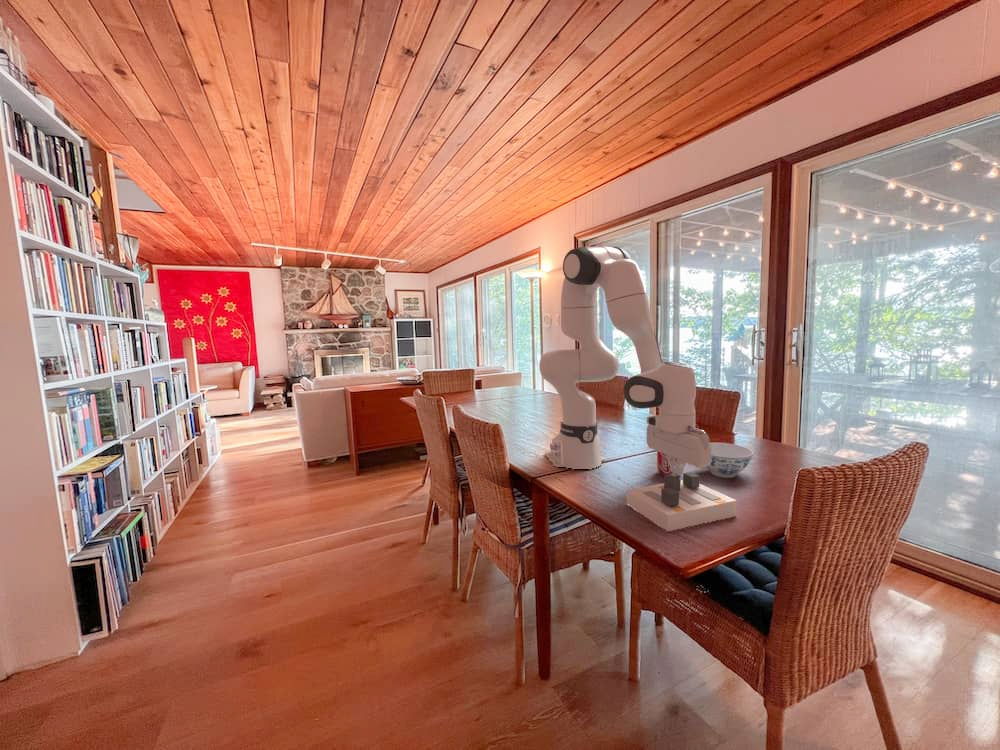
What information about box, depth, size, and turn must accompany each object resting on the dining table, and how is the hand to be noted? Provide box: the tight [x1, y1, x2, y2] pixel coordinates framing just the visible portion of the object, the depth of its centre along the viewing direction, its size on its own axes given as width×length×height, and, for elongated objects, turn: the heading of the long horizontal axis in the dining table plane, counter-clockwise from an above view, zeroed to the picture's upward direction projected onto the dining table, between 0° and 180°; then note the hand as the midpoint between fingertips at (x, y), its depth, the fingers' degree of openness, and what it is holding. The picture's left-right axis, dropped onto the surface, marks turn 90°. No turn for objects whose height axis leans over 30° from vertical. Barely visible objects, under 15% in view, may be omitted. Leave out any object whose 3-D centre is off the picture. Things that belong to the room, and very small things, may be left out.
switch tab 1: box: [663, 475, 682, 491], centre depth 101 cm, size 3×2×3 cm
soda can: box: [656, 451, 680, 478], centre depth 123 cm, size 7×7×12 cm
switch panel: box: [626, 479, 738, 530], centre depth 99 cm, size 15×20×4 cm
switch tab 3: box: [682, 471, 700, 489], centre depth 103 cm, size 3×2×3 cm
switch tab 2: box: [661, 488, 679, 506], centre depth 93 cm, size 3×2×3 cm
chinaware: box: [705, 442, 754, 479], centre depth 122 cm, size 15×15×8 cm
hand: (676, 472), depth 108 cm, fingers closed
